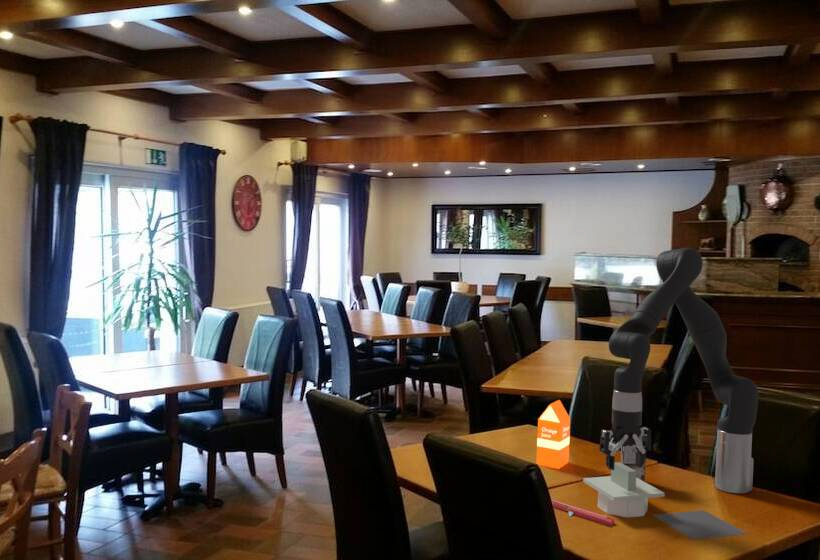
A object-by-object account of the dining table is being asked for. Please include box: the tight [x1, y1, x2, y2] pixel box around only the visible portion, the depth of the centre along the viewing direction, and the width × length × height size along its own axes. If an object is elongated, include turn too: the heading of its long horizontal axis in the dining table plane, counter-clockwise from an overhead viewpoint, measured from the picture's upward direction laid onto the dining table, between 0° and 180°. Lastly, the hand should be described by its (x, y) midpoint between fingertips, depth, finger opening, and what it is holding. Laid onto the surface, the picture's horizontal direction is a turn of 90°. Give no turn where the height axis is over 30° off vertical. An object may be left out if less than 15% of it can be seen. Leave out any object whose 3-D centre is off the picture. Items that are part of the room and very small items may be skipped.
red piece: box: [551, 499, 615, 527], centre depth 189 cm, size 24×2×5 cm
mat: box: [652, 509, 748, 541], centre depth 182 cm, size 16×16×1 cm
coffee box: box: [620, 427, 647, 482], centre depth 213 cm, size 9×6×16 cm
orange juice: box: [535, 399, 571, 470], centre depth 231 cm, size 8×9×20 cm
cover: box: [582, 461, 665, 501], centre depth 192 cm, size 15×15×6 cm
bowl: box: [597, 491, 649, 518], centre depth 192 cm, size 12×12×6 cm
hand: (624, 467), depth 191 cm, fingers open, 8 cm apart
